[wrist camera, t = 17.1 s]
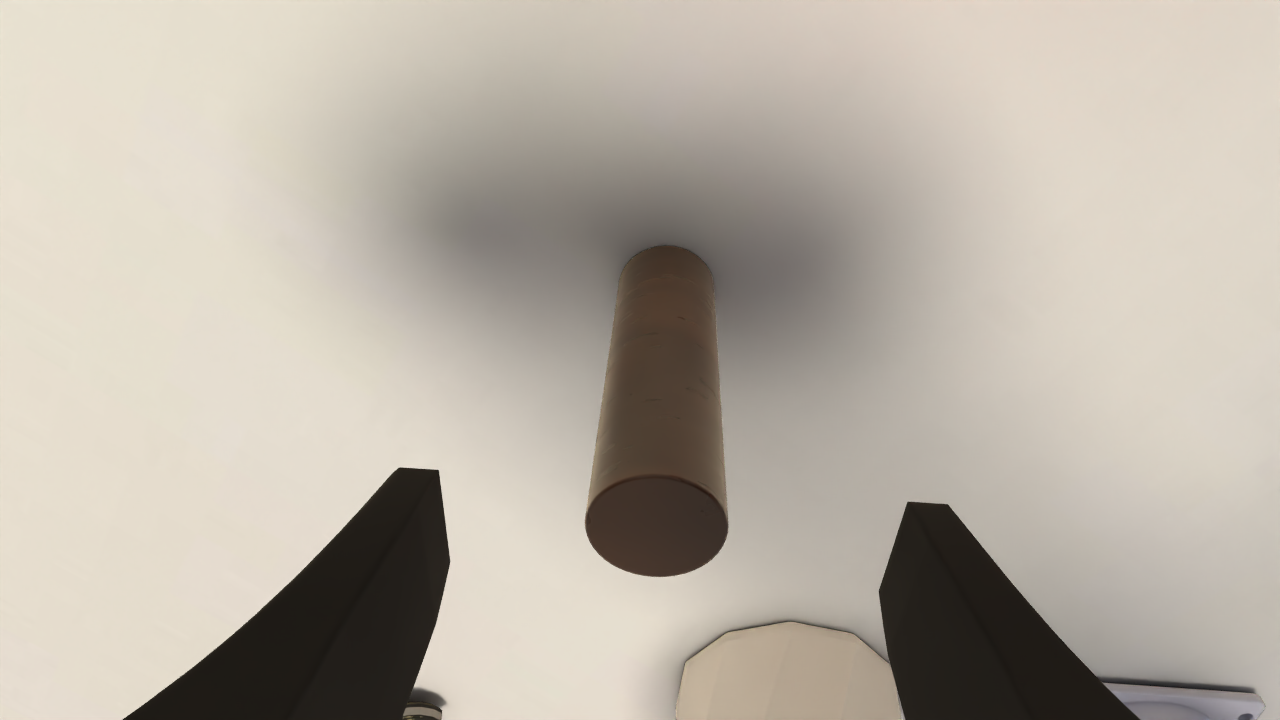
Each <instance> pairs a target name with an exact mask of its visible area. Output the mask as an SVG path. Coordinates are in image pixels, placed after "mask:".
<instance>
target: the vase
mask: <svg viewBox="0 0 1280 720" xmlns="http://www.w3.org/2000/svg"><path fill="white" fill-rule="evenodd" d="M676 720H902V717H901V712H900V707H899V702H898V697H897V689H896V683H895V680H894V676H893V673H892V671H891V667H890V664H888V663H887V662H886V661H885V660H884V659H883V658H881V657H880V656H879V655H878V654H877V653H875V652H874V651H873V650H872V649H871V648H869V647H868V646H867V645H866V644H865V643H864V642H862V641H861V640H860V639H859V638H858V637H856V636H855V635H854V634H852V633H847V632H842V631H837V630H832V629H826V628H821V627H816V626H811V625H806V624H801V623H796V622H785V623H779V624H773V625H768V626H762V627H756V628H750V629H745V630H739V631H733V632H727V633H726V634H724V635H723V636H722V637H720V638H719V639H717V640H716V641H715V642H713V643H712V644H710V645H709V646H707V647H706V648H705V649H703V650H702V651H700V652H699V653H698V654H696V655H695V656H693V657H692V658H691V659H689V660H688V661H686V662H685V667H684V672H683V676H682V681H681V685H680V690H679V695H678V699H677V704H676Z"/></svg>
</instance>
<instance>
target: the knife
mask: <svg viewBox="0 0 1280 720" xmlns="http://www.w3.org/2000/svg"><path fill="white" fill-rule="evenodd" d="M441 718H442V710H441V709H440V708H439V707H437V706H435V705H433V704H430V703H424V702H410V703H407V706H406V709H405V711H404V714H403V717H402V720H441Z"/></svg>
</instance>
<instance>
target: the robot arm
mask: <svg viewBox="0 0 1280 720" xmlns="http://www.w3.org/2000/svg"><path fill="white" fill-rule="evenodd" d="M449 565H450V556H449V548H448V540H447V532H446V524H445V516H444V508H443V501H442V493H441V485H440V477H439V470H430V469H415V468H398V469H397V470H396V471H394V472H393V473H392V474H391V476H390V477H389V478H388V479H387V480H386V481H385V482H384V483H383V485H382V486H381V487H380V488H379V489H378V490H377V491H376V493H375V494H374V495H373V496H372V497H371V498H370V499H369V500H368V502H367V503H366V504H365V505H364V506H363V507H362V508H361V509H360V510H359V512H358V513H357V514H356V515H355V516H354V517H353V518H352V519H351V520H350V521H349V522H348V523H347V525H346V526H345V527H344V528H343V529H342V530H341V531H340V532H339V533H338V534H337V535H336V536H335V537H334V538H333V539H332V540H331V541H330V543H329V544H328V545H327V546H326V547H325V548H324V549H323V550H322V551H321V552H320V553H319V554H318V555H317V556H316V557H315V558H314V559H313V560H312V561H311V562H310V563H309V564H308V565H307V566H306V567H305V568H304V569H303V570H302V571H301V572H300V573H299V574H298V575H297V576H296V577H295V578H294V579H293V580H292V581H291V582H290V583H289V584H288V585H287V586H286V587H284V588H283V589H282V590H281V591H280V592H279V593H278V594H277V595H276V596H275V597H274V598H273V599H272V600H271V601H270V602H269V603H267V604H266V605H265V606H264V607H263V608H262V609H261V610H260V611H259V612H258V613H257V614H256V615H255V616H253V617H252V618H251V619H250V620H249V621H248V622H247V623H246V624H244V625H243V626H242V627H241V628H240V629H239V630H238V631H236V632H235V633H234V634H233V635H232V636H231V637H229V638H228V639H227V640H226V641H225V642H223V643H222V644H221V645H220V646H219V647H217V648H216V649H215V650H214V651H213V652H211V653H210V654H209V655H208V656H206V657H205V658H204V659H203V660H201V661H200V662H199V663H198V664H197V665H195V666H194V667H193V668H192V669H190V670H189V671H188V672H186V673H185V674H184V675H182V676H181V677H180V678H178V679H177V680H176V681H174V682H173V683H172V684H170V685H169V686H168V687H166V688H165V689H164V690H162V691H161V692H160V693H158V694H157V695H156V696H154V697H153V698H152V699H150V700H149V701H148V702H146V703H145V704H144V705H142V706H141V707H140V708H138V709H137V710H135V711H134V712H133V713H131V714H130V715H128V716H127V717H126V718H124V719H123V720H402V717H403V714H404V711H405V709H406V706H407V703H408V700H409V698H410V695H411V692H412V689H413V687H414V684H415V681H416V678H417V676H418V673H419V670H420V667H421V664H422V662H423V659H424V656H425V653H426V650H427V648H428V645H429V642H430V639H431V636H432V633H433V630H434V628H435V625H436V621H437V617H438V613H439V609H440V605H441V600H442V596H443V592H444V587H445V583H446V578H447V574H448V569H449ZM879 597H880V604H881V612H882V619H883V627H884V633H885V639H886V646H887V652H888V657H889V661H890V665H891V668H892V672H893V676H894V680H895V683H896V687H897V691H898V695H899V698H900V702H901V706H902V709H903V713H904V716H905V720H1256V719H1257V718H1258V717H1259V716H1260V715H1261V713H1262V712H1263V711H1264V709H1265V707H1266V706H1265V703H1264V702H1263V700H1262V698H1261V697H1260V696H1259V695H1257V694H1253V693H1243V692H1229V691H1214V690H1200V689H1186V688H1171V687H1157V686H1143V685H1129V684H1114V683H1102V682H1101V681H1100V680H1099V679H1098V678H1097V677H1096V676H1095V675H1094V674H1093V673H1092V672H1091V671H1090V669H1089V668H1088V667H1087V666H1086V665H1085V664H1084V663H1083V662H1082V661H1081V660H1080V659H1079V658H1078V657H1077V656H1076V655H1075V654H1074V653H1073V652H1072V651H1071V650H1070V649H1069V648H1068V647H1067V645H1066V644H1065V643H1064V642H1063V641H1062V640H1061V639H1060V638H1059V637H1058V636H1057V634H1056V633H1055V632H1054V631H1053V630H1052V629H1051V628H1050V627H1049V625H1048V624H1047V623H1046V622H1045V621H1044V620H1043V619H1042V617H1041V616H1040V615H1039V614H1038V613H1037V612H1036V611H1035V609H1034V608H1033V607H1032V606H1031V605H1030V604H1029V602H1028V601H1027V600H1026V599H1025V598H1024V597H1023V596H1022V594H1021V593H1020V592H1019V591H1018V590H1017V588H1016V587H1015V586H1014V585H1013V584H1012V583H1011V581H1010V580H1009V579H1008V578H1007V576H1006V575H1005V574H1004V573H1003V572H1002V570H1001V569H1000V568H999V567H998V566H997V564H996V563H995V562H994V561H993V559H992V558H991V557H990V556H989V554H988V553H987V552H986V551H985V550H984V548H983V547H982V546H981V545H980V543H979V542H978V541H977V540H976V538H975V537H974V536H973V535H972V533H971V532H970V531H969V530H968V529H967V527H966V526H965V525H964V524H963V522H962V521H961V520H960V519H959V517H958V516H957V515H956V514H955V513H954V511H953V510H952V509H951V508H950V507H949V505H948V504H934V503H919V502H907V505H906V508H905V511H904V515H903V518H902V521H901V524H900V527H899V530H898V533H897V536H896V539H895V542H894V546H893V549H892V552H891V555H890V558H889V561H888V564H887V567H886V570H885V573H884V577H883V580H882V583H881V586H880V589H879Z"/></svg>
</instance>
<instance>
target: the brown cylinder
mask: <svg viewBox="0 0 1280 720" xmlns="http://www.w3.org/2000/svg"><path fill="white" fill-rule="evenodd" d="M585 529H586V533H587V536H588V538H589V541H590V543H591V544H592V546H593V548H594V549H595V550H596V551H597V553H598V554H599V555H600V556H601V557H603V558H604V559H605V560H606V561H608V562H609V563H611V564H612V565H614V566H616V567H618V568H620V569H622V570H625V571H627V572H630V573H634V574H638V575H643V576H651V577H667V576H675V575H680V574H684V573H688V572H690V571H693V570H695V569H698V568H700V567H702V566H703V565H705V564H706V563H708V562H709V561H710V560H712V559H713V558H714V557H715V556H716V555H717V554H718V552H719V551H720V550H721V548H722V547H723V545H724V542H725V540H726V538H727V534H728V511H727V495H726V478H725V461H724V445H723V428H722V412H721V395H720V378H719V362H718V345H717V328H716V312H715V295H714V282H713V278H712V275H711V272H710V270H709V269H708V267H707V266H706V264H705V263H704V262H703V261H702V260H701V259H700V258H699V257H698V256H696V255H695V254H693V253H691V252H690V251H688V250H685V249H683V248H679V247H674V246H658V247H653V248H650V249H647V250H645V251H643V252H641V253H639V254H637V255H636V256H634V257H633V258H632V259H631V260H630V261H629V262H628V263H627V265H626V266H625V268H624V269H623V271H622V274H621V276H620V280H619V287H618V293H617V300H616V307H615V314H614V321H613V328H612V335H611V342H610V349H609V356H608V363H607V370H606V377H605V384H604V391H603V398H602V405H601V412H600V419H599V426H598V433H597V440H596V447H595V454H594V461H593V468H592V475H591V482H590V488H589V495H588V502H587V509H586V517H585Z"/></svg>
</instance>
